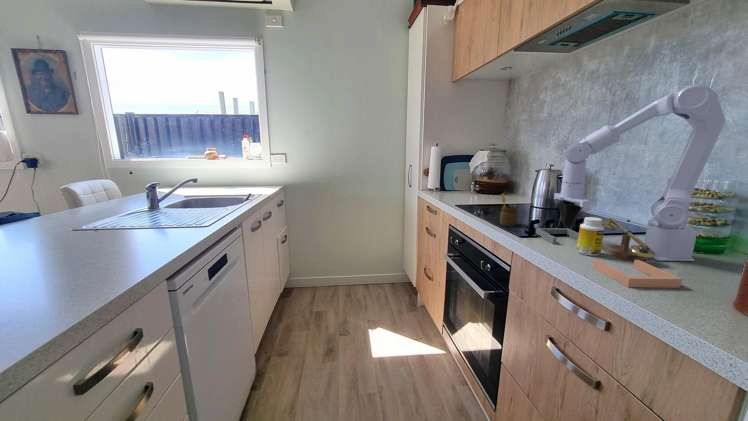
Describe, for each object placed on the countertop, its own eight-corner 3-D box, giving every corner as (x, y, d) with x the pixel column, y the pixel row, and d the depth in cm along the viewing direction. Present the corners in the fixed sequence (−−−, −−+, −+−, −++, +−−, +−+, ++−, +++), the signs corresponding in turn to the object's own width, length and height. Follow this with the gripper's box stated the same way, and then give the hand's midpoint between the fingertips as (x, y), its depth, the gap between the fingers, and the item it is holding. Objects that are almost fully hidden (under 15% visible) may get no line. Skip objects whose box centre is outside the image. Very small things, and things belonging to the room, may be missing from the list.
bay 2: (637, 267, 73) (638, 259, 73) (680, 287, 63) (682, 279, 62) (592, 266, 74) (593, 259, 73) (627, 287, 63) (629, 278, 63)
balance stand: (622, 249, 86) (626, 231, 85) (646, 259, 78) (650, 240, 77) (601, 249, 86) (604, 231, 85) (623, 259, 78) (627, 239, 77)
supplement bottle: (595, 258, 80) (601, 222, 77) (572, 252, 84) (577, 218, 82) (603, 254, 83) (609, 219, 80) (581, 248, 87) (586, 215, 85)
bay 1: (552, 243, 91) (553, 237, 91) (535, 233, 102) (535, 228, 102) (588, 244, 91) (589, 238, 91) (567, 233, 102) (568, 228, 101)
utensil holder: (510, 227, 111) (513, 196, 108) (495, 223, 116) (498, 194, 114) (519, 224, 114) (522, 194, 112) (504, 221, 119) (506, 192, 117)
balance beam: (612, 220, 89) (615, 214, 88) (659, 258, 74) (664, 251, 73) (595, 220, 89) (598, 214, 88) (639, 258, 74) (643, 251, 73)
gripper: (547, 180, 97) (542, 219, 100) (574, 185, 83) (567, 231, 86) (568, 180, 97) (563, 219, 100) (599, 185, 83) (592, 231, 86)
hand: (566, 225), depth 93 cm, fingers closed
